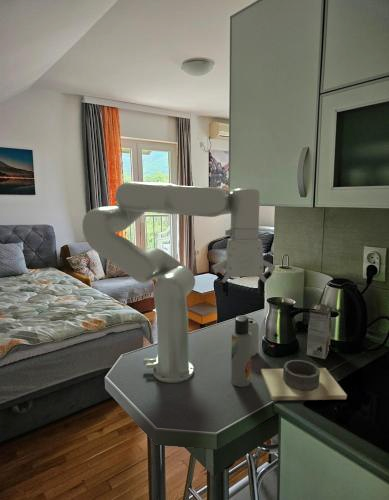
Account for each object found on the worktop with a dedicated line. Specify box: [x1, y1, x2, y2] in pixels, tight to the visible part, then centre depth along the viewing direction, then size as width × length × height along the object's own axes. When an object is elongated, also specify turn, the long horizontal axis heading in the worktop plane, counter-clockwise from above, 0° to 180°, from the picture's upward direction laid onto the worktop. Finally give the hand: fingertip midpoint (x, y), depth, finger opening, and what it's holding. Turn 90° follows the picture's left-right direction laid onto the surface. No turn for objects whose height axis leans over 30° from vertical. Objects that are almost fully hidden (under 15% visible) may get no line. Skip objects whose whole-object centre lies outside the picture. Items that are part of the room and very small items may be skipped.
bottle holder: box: [260, 359, 348, 401], centre depth 94 cm, size 20×14×5 cm
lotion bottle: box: [230, 315, 252, 388], centre depth 95 cm, size 6×6×20 cm
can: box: [246, 316, 260, 358], centre depth 113 cm, size 8×8×12 cm
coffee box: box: [306, 302, 333, 360], centre depth 113 cm, size 9×6×16 cm
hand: (243, 294), depth 92 cm, fingers open, 9 cm apart
